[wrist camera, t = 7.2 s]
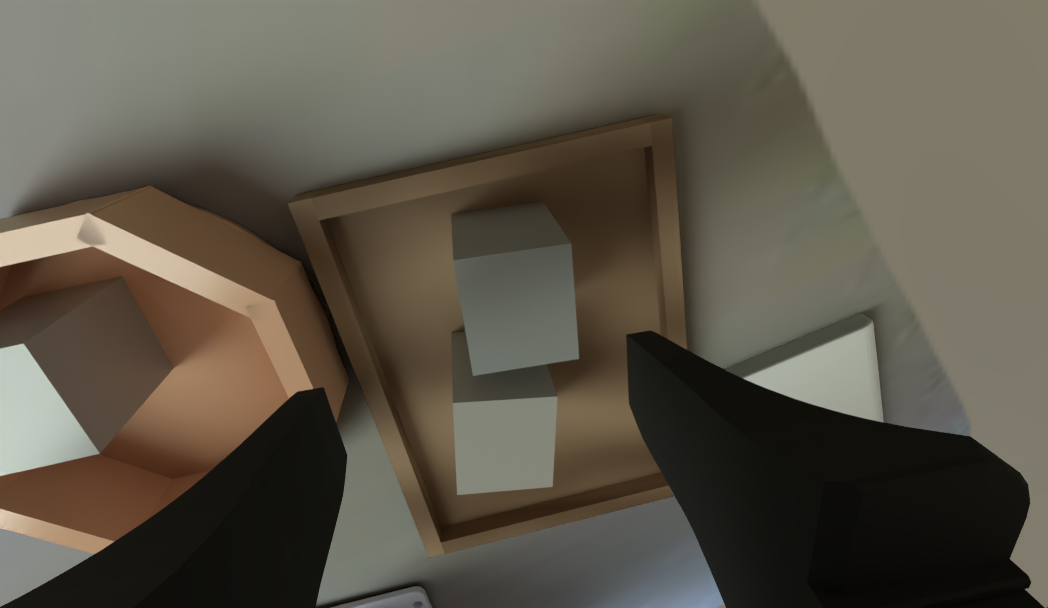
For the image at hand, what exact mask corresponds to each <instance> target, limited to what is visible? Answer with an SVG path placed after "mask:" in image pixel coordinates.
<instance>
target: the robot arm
mask: <svg viewBox="0 0 1048 608" xmlns="http://www.w3.org/2000/svg"><path fill="white" fill-rule="evenodd" d="M626 344H627V369H628V394H629V405H630V408H631V411H632V413H633V416H634V418H635V421H636V424H637V426H638V429H639V431H640V433H641V436H642V438H643V440H644V442H645V444H646V446H647V448H648V449H649V451H650V453H651V455H652V456H653V458H654V460H655V462H656V464H657V465H658V467H659V469H660V471H661V473H662V474H663V476H664V478H665V480H666V481H667V483H668V485H669V487H670V488H671V490H672V492H673V494H674V495H675V497H676V499H677V501H678V502H679V504H680V506H681V508H682V510H683V511H684V513H685V515H686V517H687V519H688V521H689V523H690V525H691V527H692V529H693V531H694V533H695V535H696V538H697V540H698V542H699V545H700V547H701V549H702V551H703V554H704V556H705V558H706V561H707V563H708V565H709V567H710V570H711V572H712V575H713V577H714V579H715V582H716V584H717V587H718V589H719V592H720V594H721V596H722V599H723V601H724V604H725V606H726V608H1044V607H1043V606H1042V605H1041V604H1040V603H1039V602H1038V601H1037V600H1035V599H1034V598H1033V597H1032V596H1031V595H1030V594H1029V593H1028V592H1027V591H1026V590H1025V589H1026V588H1029V586H1030V584H1031V581H1030V579H1029V576H1028V575H1027V574H1026V573H1025V572H1023V571H1022V570H1021V569H1020V568H1019V567H1018V566H1017V565H1016V564H1015V563H1013V562H1012V561H1011V560H1010V556H1011V554H1012V551H1013V549H1014V546H1015V544H1016V542H1017V539H1018V537H1019V534H1020V531H1021V529H1022V527H1023V525H1024V522H1025V520H1026V517H1027V512H1028V509H1029V505H1030V497H1029V489H1028V484H1027V482H1026V481H1025V479H1024V478H1023V476H1022V475H1021V474H1020V472H1018V471H1017V470H1015V469H1014V468H1013V467H1011V466H1010V465H1009V464H1007V463H1006V462H1004V461H1003V460H1002V459H1000V458H999V457H998V456H996V455H995V454H994V453H992V452H991V451H989V450H988V449H987V448H985V447H984V446H983V445H981V444H980V443H978V442H977V441H976V440H974V439H973V438H972V437H970V436H963V435H956V434H950V433H943V432H936V431H930V430H923V429H916V428H909V427H904V426H898V425H893V424H889V423H884V422H879V421H874V420H869V419H865V418H861V417H856V416H852V415H848V414H844V413H840V412H837V411H833V410H830V409H826V408H823V407H819V406H816V405H812V404H809V403H806V402H803V401H800V400H797V399H794V398H791V397H788V396H785V395H783V394H780V393H777V392H775V391H772V390H769V389H767V388H764V387H762V386H759V385H757V384H754V383H752V382H750V381H748V380H745V379H743V378H741V377H739V376H737V375H735V374H732V373H730V372H728V371H726V370H724V369H722V368H720V367H718V366H716V365H714V364H712V363H710V362H708V361H706V360H705V359H703V358H701V357H699V356H697V355H695V354H693V353H692V352H690V351H688V350H686V349H684V348H683V347H681V346H679V345H677V344H676V343H674V342H672V341H670V340H668V339H667V338H665V337H663V336H661V335H659V334H657V333H655V332H653V331H651V330H649V331H644V332H638V333H632V334H626ZM346 463H347V453H346V450H345V447H344V444H343V442H342V439H341V436H340V433H339V430H338V427H337V424H336V421H335V418H334V415H333V413H332V410H331V407H330V404H329V401H328V398H327V395H326V392H325V389H324V387H321V388H315V389H310V390H304V391H298V392H296V393H295V394H294V395H292V396H291V397H290V398H289V399H288V400H287V401H286V402H284V403H283V404H282V405H281V406H280V407H279V408H278V409H277V410H276V411H275V412H274V413H273V414H272V415H271V416H270V417H269V418H268V419H267V420H265V421H264V422H263V423H262V424H261V425H260V426H259V427H258V428H257V429H256V430H255V431H254V432H253V433H252V434H251V435H250V436H249V437H248V438H247V439H245V440H244V441H243V442H242V443H241V444H240V445H239V446H238V447H237V448H236V449H235V450H234V451H232V452H231V453H230V454H229V455H228V456H227V457H226V458H224V459H223V460H222V461H221V462H220V463H219V464H218V465H216V466H215V467H214V468H213V469H212V470H211V471H210V472H208V473H207V474H206V475H205V476H204V477H203V478H202V479H200V480H199V481H198V482H197V483H195V484H194V485H193V486H192V487H190V488H189V489H188V490H187V491H185V492H184V493H183V494H182V495H180V496H179V497H178V498H176V499H175V500H174V501H172V502H171V503H170V504H168V505H167V506H166V507H164V508H163V509H162V510H160V511H159V512H158V513H156V514H155V515H153V516H152V517H151V518H149V519H148V520H146V521H145V522H143V523H142V524H140V525H139V526H137V527H136V528H134V529H133V530H131V531H130V532H128V533H127V534H125V535H123V536H122V537H120V538H119V539H117V540H116V541H114V542H113V543H111V544H110V545H108V546H107V547H105V548H104V549H102V550H101V551H99V552H98V553H96V554H94V555H93V556H91V557H89V558H88V559H86V560H84V561H83V562H81V563H79V564H78V565H76V566H74V567H73V568H71V569H69V570H67V571H66V572H64V573H62V574H60V575H59V576H57V577H55V578H53V579H52V580H50V581H48V582H46V583H45V584H43V585H41V586H39V587H37V588H36V589H34V590H32V591H30V592H28V593H26V594H25V595H23V596H21V597H19V598H17V599H15V600H13V601H11V602H9V603H7V604H5V605H3V606H1V607H0V608H315V607H316V602H317V597H318V593H319V588H320V584H321V580H322V576H323V572H324V568H325V564H326V560H327V557H328V553H329V549H330V545H331V541H332V537H333V533H334V529H335V526H336V521H337V517H338V513H339V509H340V505H341V501H342V497H343V491H344V483H345V474H346ZM331 608H432V606H431V604H430V602H429V599H428V597H427V594H426V592H425V590H424V589H423V588H422V587H419V586H414V587H410V588H406V589H402V590H398V591H394V592H390V593H386V594H382V595H378V596H374V597H370V598H366V599H362V600H358V601H354V602H350V603H346V604H342V605H338V606H335V607H331ZM1047 608H1048V607H1047Z"/></svg>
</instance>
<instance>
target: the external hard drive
mask: <svg viewBox="0 0 1048 608" xmlns="http://www.w3.org/2000/svg"><path fill="white" fill-rule="evenodd" d="M724 370H726V371H728V372H730V373H732V374H735V375H737V376H739V377H741V378H743V379H745V380H748V381H750V382H752V383H754V384H757V385H759V386H762V387H764V388H767V389H769V390H772V391H775V392H777V393H780V394H783V395H785V396H788V397H791V398H794V399H797V400H800V401H803V402H806V403H809V404H812V405H816V406H819V407H823V408H826V409H830V410H833V411H837V412H840V413H844V414H848V415H852V416H856V417H861V418H865V419H869V420H874V421H879V422H884V420H883V410H882V400H881V390H880V379H879V370H878V361H877V352H876V343H875V334H874V325H873V321H872V320H871V319H869V318H867V317H866V316H864V315H863V314H861V313H858V314H856V315H853V316H851V317H848V318H846V319H844V320H841V321H839V322H837V323H834V324H832V325H830V326H827V327H825V328H822V329H820V330H818V331H815V332H813V333H810V334H808V335H806V336H803V337H801V338H798V339H796V340H794V341H791V342H789V343H786V344H784V345H782V346H779V347H777V348H775V349H772V350H770V351H767V352H765V353H763V354H760V355H758V356H755V357H753V358H751V359H748V360H746V361H743V362H741V363H739V364H736V365H734V366H731V367H729V368H727V369H724Z"/></svg>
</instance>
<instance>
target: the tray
mask: <svg viewBox="0 0 1048 608" xmlns="http://www.w3.org/2000/svg"><path fill="white" fill-rule="evenodd" d="M537 202H544V204H545V205H546V207H547V208H548V210H549V211H550V212H551V214H552V215H553V217H554V218H555V220H556V221H557V223H558V224H559V226H560V227H561V229H562V230H563V232H564V233H565V235H566V236H567V238H568V239H569V241H570V242H571V245H572V260H573V275H574V290H575V304H576V319H577V334H578V348H579V359H575V360H569V361H562V362H556V363H550V364H547V366H548V369H549V372H550V375H551V378H552V381H553V384H554V387H555V390H556V393H557V415H556V434H555V453H554V471H553V487H545V488H534V489H522V490H511V491H499V492H487V493H476V494H464V495H457V482H456V460H455V439H454V417H453V388H452V344H451V332H465V326H464V321H463V315H462V309H461V303H460V297H459V292H458V286H457V280H456V274H455V269H454V263H453V245H452V221H451V214H457V213H464V212H471V211H479V210H486V209H493V208H500V207H508V206H515V205H522V204H529V203H537ZM287 204H288V206H289V209H290V211H291V214H292V216H293V219H294V221H295V224H296V226H297V229H298V231H299V234H300V236H301V239H302V241H303V244H304V246H305V249H306V251H307V254H308V256H309V259H310V261H311V264H312V266H313V269H314V271H315V274H316V276H317V279H318V281H319V284H320V286H321V289H322V291H323V294H324V296H325V299H326V301H327V304H328V306H329V309H330V311H331V314H332V316H333V319H334V321H335V324H336V326H337V329H338V331H339V334H340V336H341V339H342V341H343V344H344V346H345V349H346V351H347V354H348V356H349V359H350V361H351V364H352V366H353V369H354V372H355V374H356V377H357V379H358V382H359V384H360V387H361V389H362V392H363V394H364V397H365V399H366V402H367V404H368V407H369V409H370V412H371V414H372V417H373V419H374V422H375V424H376V427H377V429H378V432H379V434H380V437H381V439H382V442H383V444H384V447H385V449H386V452H387V454H388V457H389V459H390V462H391V464H392V467H393V469H394V472H395V474H396V477H397V479H398V482H399V484H400V487H401V489H402V492H403V494H404V497H405V499H406V502H407V504H408V507H409V509H410V512H411V514H412V517H413V519H414V522H415V524H416V527H417V529H418V532H419V534H420V537H421V539H422V542H423V544H424V547H425V549H426V552H427V554H428V557H429V558H430V557H434V556H438V555H442V554H446V553H450V552H454V551H458V550H462V549H466V548H470V547H474V546H478V545H482V544H486V543H490V542H494V541H498V540H502V539H506V538H510V537H514V536H518V535H522V534H526V533H530V532H533V531H537V530H541V529H545V528H549V527H553V526H557V525H561V524H565V523H569V522H573V521H577V520H581V519H585V518H589V517H593V516H597V515H601V514H605V513H609V512H613V511H617V510H621V509H625V508H629V507H633V506H637V505H641V504H645V503H649V502H653V501H657V500H661V499H665V498H669V497H673V496H675V495H674V494H673V492H672V490H671V488H670V487H669V485H668V483H667V481H666V480H665V478H664V476H663V474H662V473H661V471H660V469H659V467H658V465H657V464H656V462H655V460H654V458H653V456H652V455H651V453H650V451H649V449H648V448H647V446H646V444H645V442H644V440H643V438H642V436H641V433H640V431H639V429H638V426H637V424H636V421H635V418H634V416H633V413H632V411H631V408H630V405H629V394H628V369H627V344H626V334H632V333H638V332H644V331H649V330H651V331H653V332H655V333H657V334H659V335H661V336H663V337H665V338H667V339H668V340H670V341H672V342H674V343H676V344H677V345H679V346H681V347H683V348H684V349H686V350H687V339H686V323H685V308H684V292H683V276H682V261H681V245H680V229H679V214H678V198H677V182H676V167H675V151H674V135H673V120H672V117H668V116H664V115H661V114H657V115H652V116H648V117H643V118H639V119H634V120H630V121H625V122H621V123H616V124H612V125H607V126H603V127H598V128H594V129H589V130H585V131H580V132H576V133H571V134H567V135H562V136H558V137H553V138H549V139H544V140H540V141H535V142H531V143H526V144H522V145H517V146H513V147H508V148H504V149H499V150H495V151H490V152H486V153H481V154H477V155H472V156H468V157H463V158H459V159H454V160H450V161H445V162H441V163H436V164H432V165H427V166H423V167H418V168H414V169H409V170H405V171H400V172H396V173H391V174H387V175H382V176H378V177H373V178H369V179H364V180H360V181H355V182H351V183H346V184H342V185H337V186H333V187H328V188H324V189H319V190H315V191H310V192H306V193H301V194H297V195H296V196H295V197H294V198H293V199H292V200H291V201H289V202H288V203H287Z"/></svg>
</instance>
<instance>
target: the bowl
mask: <svg viewBox="0 0 1048 608" xmlns="http://www.w3.org/2000/svg"><path fill="white" fill-rule="evenodd" d="M120 276H123V278H124V280H125V282H126V284H127V285H128V287H129V289H130V291H131V292H132V294H133V296H134V298H135V300H136V301H137V303H138V305H139V307H140V309H141V310H142V312H143V314H144V316H145V317H146V319H147V321H148V323H149V325H150V326H151V328H152V330H153V332H154V333H155V335H156V337H157V339H158V341H159V342H160V344H161V346H162V348H163V350H164V351H165V353H166V355H167V357H168V358H169V360H170V362H171V364H172V366H173V367H174V369H173V370H172V371H171V372H170V373H169V374H168V376H167V377H166V378H165V379H164V380H163V381H162V383H161V384H160V385H159V386H158V387H157V388H156V389H155V391H154V392H153V393H152V394H151V395H150V396H149V398H148V399H147V400H146V401H145V402H144V403H143V404H142V406H141V407H140V408H139V409H138V410H137V411H136V413H135V414H134V415H133V416H132V417H131V418H130V419H129V421H128V422H127V423H126V424H125V425H124V426H123V428H122V429H121V430H120V431H119V432H118V433H117V434H116V436H115V437H114V438H113V439H112V440H111V441H110V443H109V444H108V445H107V446H106V447H105V448H104V449H103V451H102V452H101V453H100V454H96V455H92V456H87V457H83V458H78V459H74V460H70V461H65V462H61V463H56V464H52V465H48V466H43V467H39V468H34V469H30V470H25V471H21V472H17V473H12V474H8V475H3V476H0V528H2V529H6V530H10V531H13V532H17V533H20V534H24V535H28V536H31V537H35V538H39V539H42V540H46V541H49V542H53V543H57V544H60V545H64V546H68V547H71V548H75V549H78V550H82V551H86V552H89V553H93V554H96V553H98V552H99V551H101V550H102V549H104V548H105V547H107V546H108V545H110V544H111V543H113V542H114V541H116V540H117V539H119V538H120V537H122V536H123V535H125V534H127V533H128V532H130V531H131V530H133V529H134V528H136V527H137V526H139V525H140V524H142V523H143V522H145V521H146V520H148V519H149V518H151V517H152V516H153V515H155V514H156V513H158V512H159V511H160V510H162V509H163V508H164V507H166V506H167V505H168V504H170V503H171V502H172V501H174V500H175V499H176V498H178V497H179V496H180V495H182V494H183V493H184V492H185V491H187V490H188V489H189V488H190V487H192V486H193V485H194V484H195V483H197V482H198V481H199V480H200V479H202V478H203V477H204V476H205V475H206V474H207V473H208V472H210V471H211V470H212V469H213V468H214V467H215V466H216V465H218V464H219V463H220V462H221V461H222V460H223V459H224V458H226V457H227V456H228V455H229V454H230V453H231V452H232V451H234V450H235V449H236V448H237V447H238V446H239V445H240V444H241V443H242V442H243V441H244V440H245V439H247V438H248V437H249V436H250V435H251V434H252V433H253V432H254V431H255V430H256V429H257V428H258V427H259V426H260V425H261V424H262V423H263V422H264V421H265V420H267V419H268V418H269V417H270V416H271V415H272V414H273V413H274V412H275V411H276V410H277V409H278V408H279V407H280V406H281V405H282V404H283V403H284V402H286V401H287V400H288V399H289V398H290V397H291V396H292V395H294V394H295V393H296V392H298V391H304V390H310V389H315V388H321V387H324V389H325V392H326V395H327V398H328V401H329V404H330V407H331V410H332V413H333V415H334V418H335V421H336V423H337V419H338V416H339V412H340V409H341V406H342V402H343V399H344V396H345V392H346V389H347V385H348V382H349V377H348V375H347V373H346V370H345V368H344V366H343V363H342V361H341V358H340V356H339V353H338V351H337V347H336V341H335V335H334V332H333V329H332V326H331V323H330V320H329V317H328V315H327V313H326V311H325V309H324V307H323V305H322V303H321V301H320V299H319V298H318V296H317V295H316V293H315V291H314V290H313V288H312V287H311V285H310V282H309V280H308V277H307V275H306V272H305V270H304V267H303V265H302V262H301V261H298V260H296V259H294V258H292V257H290V256H288V255H286V254H284V253H282V252H280V251H278V250H277V249H275V248H274V247H273V246H271V245H270V244H269V243H267V242H266V241H264V240H263V239H262V238H260V237H259V236H258V235H256V234H254V233H253V232H251V231H249V230H248V229H246V228H244V227H242V226H241V225H239V224H237V223H235V222H233V221H231V220H229V219H227V218H224V217H222V216H220V215H218V214H215V213H213V212H211V211H208V210H205V209H202V208H199V207H195V206H192V205H189V204H186V203H183V202H181V201H179V200H177V199H176V198H174V197H172V196H170V195H168V194H166V193H164V192H162V191H160V190H158V189H156V188H154V187H153V186H150V185H149V186H146V187H144V188H140V189H135V190H131V191H126V192H122V193H117V194H112V195H108V196H103V197H96V198H89V199H83V200H79V201H75V202H72V203H68V204H65V205H62V206H58V207H53V208H49V209H44V210H39V211H35V212H30V213H26V214H21V215H17V216H12V217H8V218H3V219H0V310H2V309H3V308H5V307H7V306H9V305H10V304H12V303H14V302H16V301H17V300H19V299H21V298H23V297H26V296H31V295H36V294H40V293H45V292H50V291H54V290H59V289H64V288H68V287H73V286H78V285H83V284H87V283H92V282H97V281H101V280H106V279H111V278H115V277H120Z"/></svg>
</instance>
